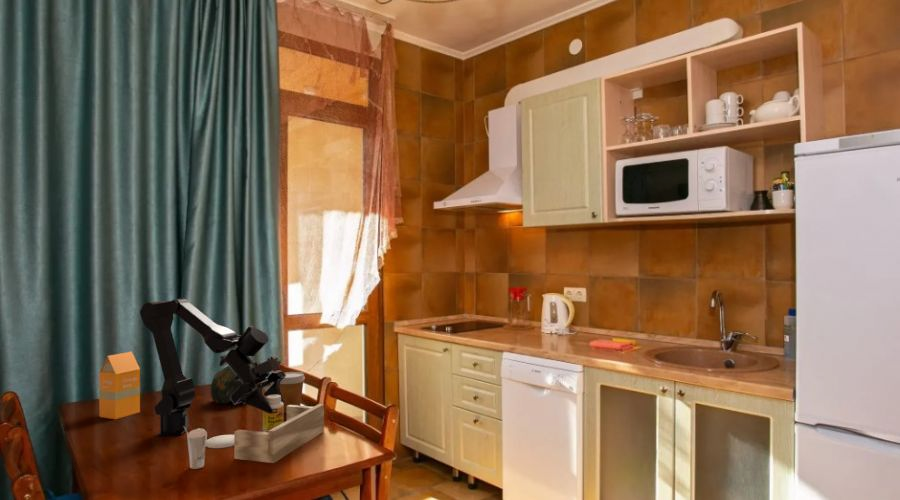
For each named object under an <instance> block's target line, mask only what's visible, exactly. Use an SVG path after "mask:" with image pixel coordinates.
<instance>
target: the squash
mask: <svg viewBox="0 0 900 500" xmlns="http://www.w3.org/2000/svg"><path fill="white" fill-rule="evenodd" d="M236 376H237V375H236V374H235V373H234V372H233V370H232V369H231V368H230V366H229V365H227V366H225V367H223V368H222V369H220V370H218V371H217V372H216V373H215V375H214V376H213V378H212V380H211V384H210V394H211V396H210V397H211V398H212V400H213V401H214V402H215V403H217V404H220V405H221V404H222V405H223V404H225V405H226V404H230V403H231V402H232V401H231V394H232V393H233V392H234V391H235V390H236V389H237V387H238V386H239V385H240V384H242V382H241V380H238V381H236V380H235V377H236ZM244 400H245V398H244V396H243V397H242V402H243V401H244Z"/></svg>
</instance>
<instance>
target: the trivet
mask: <svg viewBox="0 0 900 500" xmlns="http://www.w3.org/2000/svg"><path fill="white" fill-rule="evenodd" d="M231 447H234V434H223V435H217V436H213V437H210V438H208V439H207V440H206V447H205V448H209V449H225V448H231Z"/></svg>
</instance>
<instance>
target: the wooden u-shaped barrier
mask: <svg viewBox="0 0 900 500" xmlns="http://www.w3.org/2000/svg"><path fill="white" fill-rule="evenodd" d="M233 432H234V434H233V435H234V446H233V447H234V448H233V449H234V460H242V461H243V460H244V461H251V462H261V463H268V464H275V463H277V462H278V461H279V460H281V459H283V458H284V457H286V456H287V455H289V454H290V453H292V452H294V451H296V450H297V449H298V448H300V447H301V446H304V445H305V444H306V443H307V442H309V441H311V440H312V439H314V438H316V437H318V436H319V435H320V434H322V433H323V432H325V404H324V403H323V404H322V403H318V404H316V405H315V406H307V405H300V406H298V405H288V406H287V413H286V421H283V423H282V424H280V425H278V426H276V427H275V428H273V429H271V430H269V431H268V432H263V431H256V430H247V429H237V430H235V431H233Z"/></svg>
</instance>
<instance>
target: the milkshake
mask: <svg viewBox="0 0 900 500" xmlns="http://www.w3.org/2000/svg"><path fill="white" fill-rule="evenodd" d="M184 428H185V427H184ZM187 430H188V429H187ZM187 430H186V428H185V432H186V438H187V439H186V440H187V448H188V460H189V467H190V469H192V470H193V469H194V470H198V469H201V468H203V467H205V459H206V448H207V447H206V440H208V439H207V437H208V432H207V430H205V429H204V428H199V427H198V428H196V429H191V430H190V431H189V432H188V431H187Z"/></svg>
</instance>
